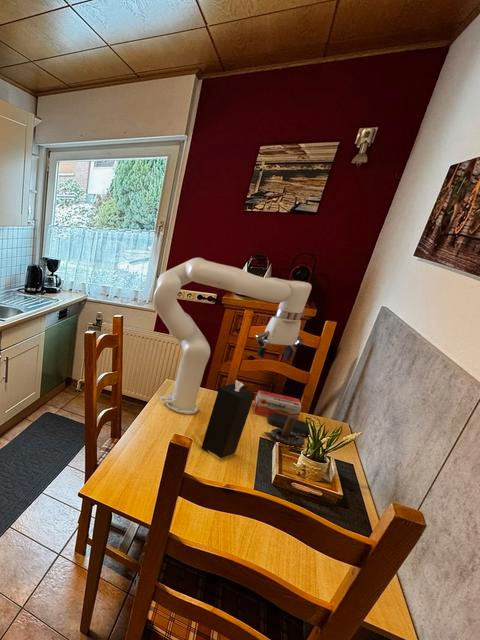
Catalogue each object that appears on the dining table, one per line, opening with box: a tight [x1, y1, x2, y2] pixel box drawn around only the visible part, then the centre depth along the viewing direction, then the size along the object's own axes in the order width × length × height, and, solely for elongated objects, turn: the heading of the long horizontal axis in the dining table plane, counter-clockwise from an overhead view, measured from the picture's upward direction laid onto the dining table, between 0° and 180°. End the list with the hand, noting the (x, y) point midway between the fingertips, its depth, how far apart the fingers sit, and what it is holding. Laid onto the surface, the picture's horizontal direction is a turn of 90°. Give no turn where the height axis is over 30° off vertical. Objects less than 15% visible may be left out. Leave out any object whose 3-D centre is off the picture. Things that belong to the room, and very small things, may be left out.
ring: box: [270, 427, 306, 447], centre depth 145 cm, size 10×10×2 cm
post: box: [263, 415, 305, 449], centre depth 144 cm, size 9×9×12 cm
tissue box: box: [201, 379, 256, 459], centre depth 133 cm, size 8×8×28 cm
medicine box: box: [253, 389, 303, 420], centre depth 164 cm, size 15×8×8 cm, turn 60°
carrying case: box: [267, 413, 309, 438], centre depth 155 cm, size 11×3×15 cm
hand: (272, 357), depth 150 cm, fingers open, 9 cm apart
